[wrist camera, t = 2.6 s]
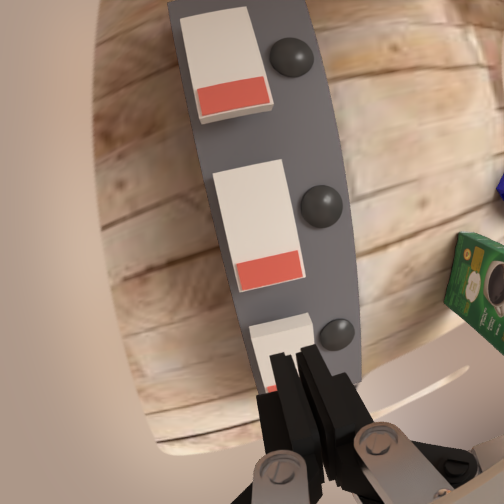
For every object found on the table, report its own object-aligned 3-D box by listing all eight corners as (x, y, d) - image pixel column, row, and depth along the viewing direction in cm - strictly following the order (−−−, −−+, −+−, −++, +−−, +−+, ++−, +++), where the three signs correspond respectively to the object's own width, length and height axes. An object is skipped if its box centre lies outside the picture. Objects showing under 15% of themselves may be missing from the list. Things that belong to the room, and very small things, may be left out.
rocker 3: (305, 307, 21) (313, 325, 19) (312, 371, 24) (318, 388, 23) (247, 320, 21) (251, 340, 19) (264, 382, 24) (268, 401, 23)
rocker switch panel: (288, 5, 19) (300, -19, 15) (347, 356, 29) (362, 383, 25) (175, 23, 19) (166, 0, 15) (257, 379, 29) (262, 410, 25)
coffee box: (459, 303, 29) (537, 366, 16) (440, 305, 28) (520, 374, 16) (475, 231, 26) (570, 276, 14) (456, 230, 26) (556, 278, 14)
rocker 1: (245, 21, 16) (246, 4, 14) (270, 113, 17) (274, 102, 15) (183, 32, 16) (179, 17, 14) (202, 127, 17) (198, 118, 15)
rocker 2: (277, 163, 19) (281, 158, 17) (300, 271, 20) (306, 277, 18) (214, 176, 19) (212, 173, 17) (239, 285, 20) (239, 293, 18)
